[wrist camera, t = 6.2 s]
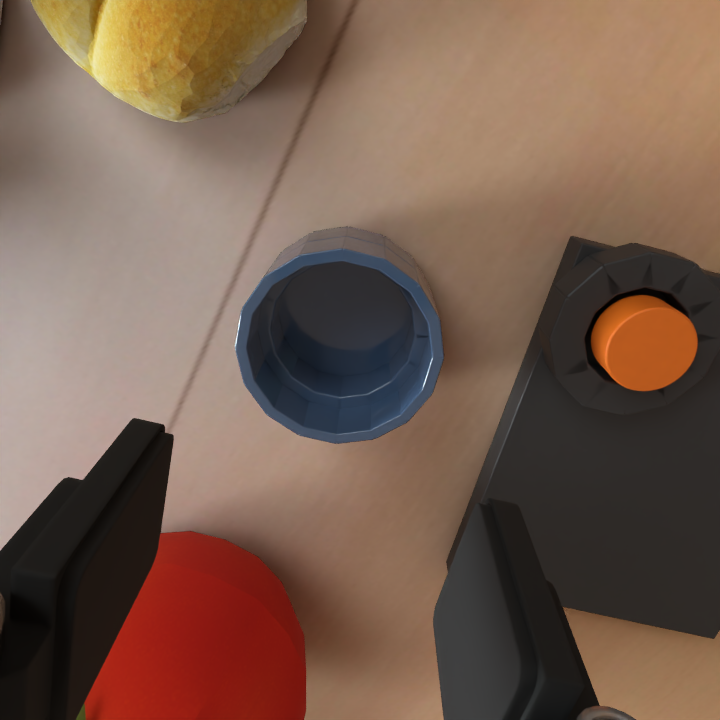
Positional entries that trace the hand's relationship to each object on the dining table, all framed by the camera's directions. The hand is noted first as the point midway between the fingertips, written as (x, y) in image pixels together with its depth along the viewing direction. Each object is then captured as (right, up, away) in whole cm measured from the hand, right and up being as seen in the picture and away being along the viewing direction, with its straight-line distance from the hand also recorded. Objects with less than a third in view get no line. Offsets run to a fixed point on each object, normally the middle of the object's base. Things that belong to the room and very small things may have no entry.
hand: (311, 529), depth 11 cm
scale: (+13, -1, +15) cm, 20 cm away
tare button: (+11, +4, +10) cm, 15 cm away
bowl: (0, +5, +13) cm, 14 cm away
